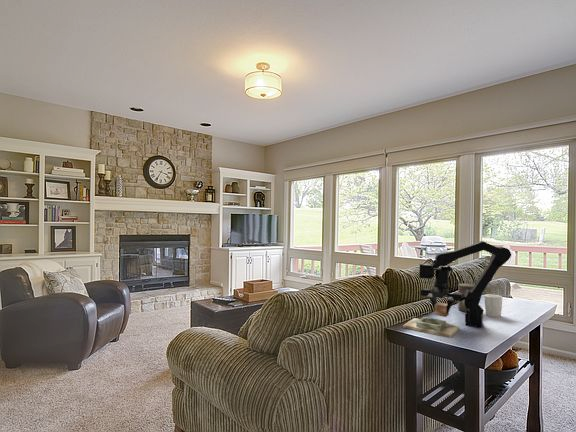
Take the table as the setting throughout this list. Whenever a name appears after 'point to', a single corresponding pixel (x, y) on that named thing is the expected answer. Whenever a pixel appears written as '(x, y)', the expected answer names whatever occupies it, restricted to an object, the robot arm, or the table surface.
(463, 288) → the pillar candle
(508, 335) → the table surface
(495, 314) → the white cup
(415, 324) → the socket board
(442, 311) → the terracotta cube
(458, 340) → the table surface
